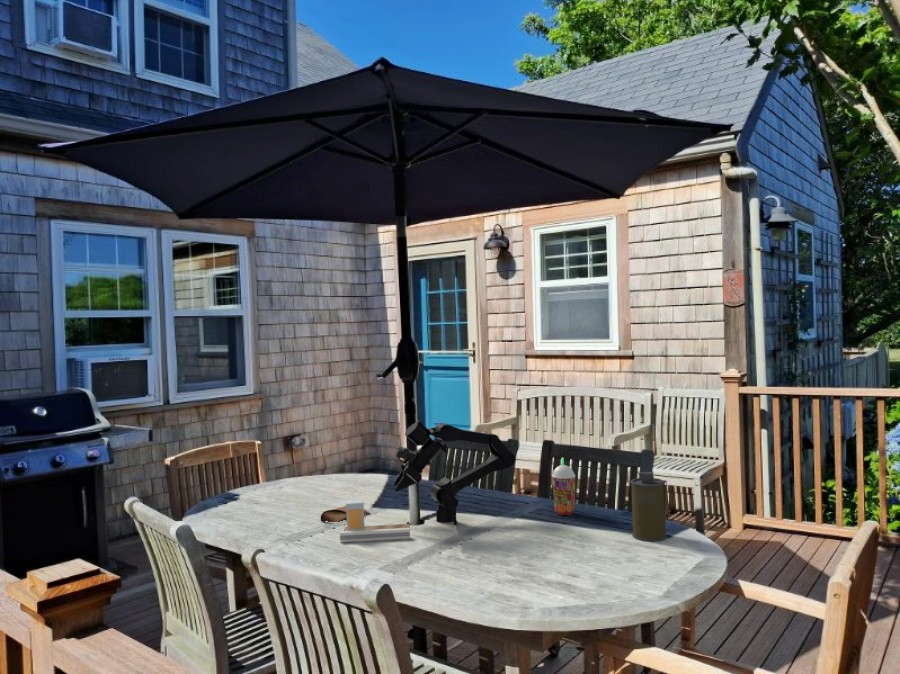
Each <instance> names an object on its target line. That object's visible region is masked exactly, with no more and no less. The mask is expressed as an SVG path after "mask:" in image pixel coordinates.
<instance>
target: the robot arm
mask: <svg viewBox="0 0 900 674" xmlns="http://www.w3.org/2000/svg"><path fill="white" fill-rule="evenodd" d="M404 436H406V437H407V438H408V439H409V440H410V441H411V442H412V443H414V445H416V446H417V447H418V446H420V448H418V449H415V451H412V450H410V449H409V448H407V447H403V446H400V445H399V446H398V447H397V450H396V453H395V457H396V458H399V459H402V461H401V469H400V472H399V474H398V476H397V477H396V479H395V481H394V483H393V485H394V486H395V488H394V491H395V492H396V493H398V492H400V491H403V490H404V489H406V488H409V487H411V486H414V485H416V484H419V483H420V482H421V480H423V475H422V473H423V471H424V469H425V468H426V467H427V466H430V464H431V461H432V460H433V459H434V458H435V457H436V456H437V455H438V454H440V452H441V451H442V452H444V453H445V454H447V453H448V450H447V447H448V445H447V444H446V443H443V442H441V441H444V442H458V441H463V442H470V443H477V444H483V445H487V447H488V449H489V452H490V453H491V454H490V455H489V457H488V458H487V460H485V461H484V462H482V463H480V464H479V465H476V466H475V467H473V468H471V469H469V470H467V471H466V472H464V473H462V474H460V475H458V476H456V477H455V478H452V479H449V478H447V477H442V478H441V479H439V480H438V481H434V484H433V485H431V487H430V491H429V494H430V497H431V499H433V500H434V502H435V504H437V508H436V509H435V520H436V523H446V524H447V523H453V525H454V526H455V525H458V522H457V508H458V505H459V502H460V501H459V500H458V499H457V498H456V496H457V494H458V493H459V492H460V491H461V490H463V489H465V488H467V487H469V486H470V485H472V484H474V483H476V482H478V481H480V480H481V479H483V478H485V477H487V476H489V475H490V474H492V473H495V472H499V471H504V470H507V469H510V468H512V467H513V466H515V462H516V457H515V455H514V454H513V452H511V451H510V450H509V448H507V446H506V445H505V444H504V442H503V441H501V439H500V438H499V435H498V434H496V433H495V434H494V433H491V432H489V433H486V432H480V431H475V430H469V429H461V428H459V427H455V426H454V425H450V424H448V423H444V422H440V423H437V424H436V425H435V427H430V428H428V427H426V426H425V425H424V423H422V421H421V420H416V422H414V423H412V424H411V425H410V426H409V427H408V428H407V429H406V431H405V432H404ZM433 437H434V439H433ZM440 440H441V441H440Z"/></svg>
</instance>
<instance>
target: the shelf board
mask: <svg viewBox="0 0 900 674" xmlns="http://www.w3.org/2000/svg"><path fill="white" fill-rule="evenodd" d="M364 526H365V530H378V529H397V528H411V526H410V523H401V524H398V523H397V524H382V525H379V524H378V525H364ZM343 531H347V526H345V527H344V529H343ZM404 540H405V541H406V540H408V539H392V540H391V541H404ZM385 541H386V542H387V541H388V542H389V541H390V540H373V541H355V542H339V543H340V544H349V543H367V542H368V543H371V542H385Z"/></svg>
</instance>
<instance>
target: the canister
mask: <svg viewBox="0 0 900 674" xmlns="http://www.w3.org/2000/svg"><path fill="white" fill-rule="evenodd" d="M638 475H639V476H640V477H639V478H638V477H637V478H633V479H631V480H630V483H631V508H632V509H631V511H632V537H633V538H634V539H635V540H638V541H644V542H660V541H664V540H666V539H667V537H668V535H667V525H666V523H667V522H666V519H667V518H668V516H669V510H668V509H669V506H668V499H666V492H668V481H667V479H666V480H665V479H660V478H655V476H654V472H653V471H648V472H647V471H640V472H639V473H638ZM665 484H666V485H665ZM665 486H666V487H665ZM665 489H666V490H665ZM665 491H666V492H665ZM666 514H667V515H666ZM666 517H667V518H666Z"/></svg>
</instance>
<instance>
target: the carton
mask: <svg viewBox="0 0 900 674" xmlns="http://www.w3.org/2000/svg"><path fill="white" fill-rule="evenodd" d="M345 503H346V504H345V506H346V511H347V521H346V527H347V531H360V530H365V526H366V525H365V515H364V509H365V506H364V505H365V504H364V499H351V500H346V502H345Z"/></svg>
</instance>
